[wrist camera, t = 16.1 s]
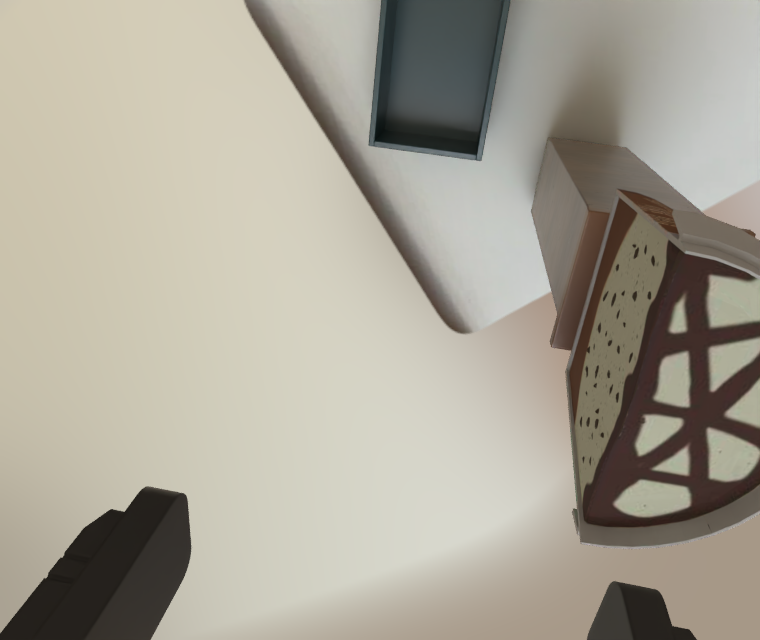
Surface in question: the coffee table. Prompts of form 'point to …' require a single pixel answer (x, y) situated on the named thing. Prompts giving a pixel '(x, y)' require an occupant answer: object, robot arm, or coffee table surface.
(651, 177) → the pillar
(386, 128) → the teal open box
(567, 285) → the plate
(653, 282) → the food container
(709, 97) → the coffee table surface
